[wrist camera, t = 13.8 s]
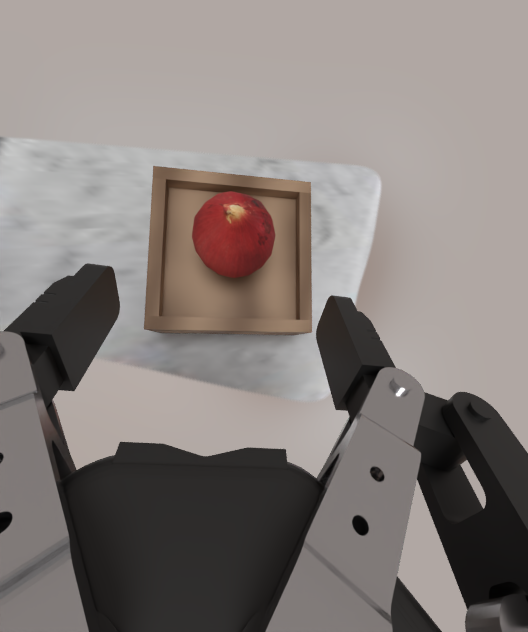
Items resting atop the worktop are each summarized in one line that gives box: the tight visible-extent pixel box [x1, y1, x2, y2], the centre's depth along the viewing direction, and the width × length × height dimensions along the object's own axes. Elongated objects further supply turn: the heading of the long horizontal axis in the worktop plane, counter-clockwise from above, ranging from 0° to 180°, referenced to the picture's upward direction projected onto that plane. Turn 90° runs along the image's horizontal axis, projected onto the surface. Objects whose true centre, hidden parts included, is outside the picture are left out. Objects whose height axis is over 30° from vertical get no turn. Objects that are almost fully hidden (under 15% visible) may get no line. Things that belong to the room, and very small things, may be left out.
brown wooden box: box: [144, 166, 312, 335], centre depth 25 cm, size 13×13×6 cm
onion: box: [192, 191, 276, 278], centre depth 20 cm, size 6×6×8 cm
